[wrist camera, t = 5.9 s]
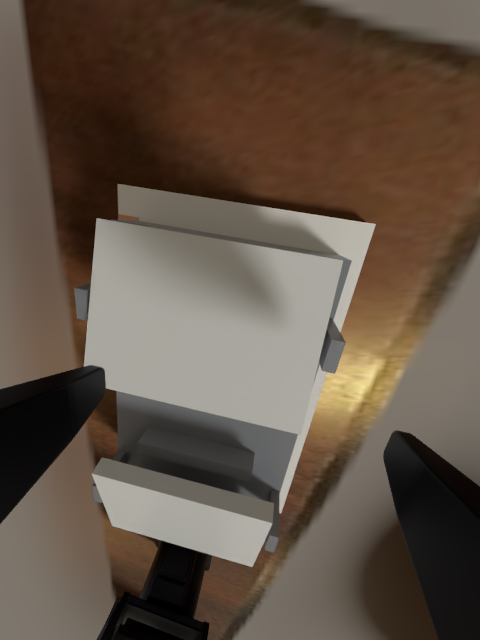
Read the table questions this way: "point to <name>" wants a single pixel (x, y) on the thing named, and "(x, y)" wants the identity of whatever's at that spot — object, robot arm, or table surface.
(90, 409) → the robot arm
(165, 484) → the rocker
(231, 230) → the box
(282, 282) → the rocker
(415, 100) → the table surface
